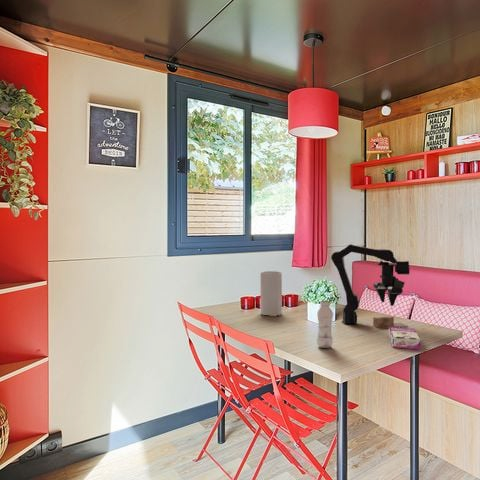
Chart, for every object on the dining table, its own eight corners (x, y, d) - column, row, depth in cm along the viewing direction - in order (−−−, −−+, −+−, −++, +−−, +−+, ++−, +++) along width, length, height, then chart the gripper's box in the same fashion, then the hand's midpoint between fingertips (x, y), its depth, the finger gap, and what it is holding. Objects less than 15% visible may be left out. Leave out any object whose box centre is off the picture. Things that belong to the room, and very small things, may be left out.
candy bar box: (388, 337, 176) (391, 347, 160) (388, 326, 176) (392, 336, 160) (414, 339, 173) (420, 350, 157) (414, 328, 172) (420, 338, 157)
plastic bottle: (315, 345, 164) (315, 300, 164) (330, 344, 165) (330, 299, 164) (319, 350, 158) (319, 303, 157) (335, 349, 159) (335, 302, 158)
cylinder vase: (282, 316, 216) (282, 273, 215) (261, 316, 216) (260, 273, 215) (280, 311, 229) (280, 271, 228) (260, 311, 229) (260, 271, 228)
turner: (377, 328, 190) (377, 319, 189) (371, 325, 195) (371, 316, 195) (408, 327, 193) (408, 317, 192) (400, 324, 199) (401, 314, 198)
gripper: (412, 275, 185) (412, 307, 185) (392, 271, 203) (392, 299, 204) (391, 276, 183) (391, 308, 184) (373, 272, 202) (373, 300, 202)
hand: (387, 304), depth 193 cm, fingers open, 9 cm apart
